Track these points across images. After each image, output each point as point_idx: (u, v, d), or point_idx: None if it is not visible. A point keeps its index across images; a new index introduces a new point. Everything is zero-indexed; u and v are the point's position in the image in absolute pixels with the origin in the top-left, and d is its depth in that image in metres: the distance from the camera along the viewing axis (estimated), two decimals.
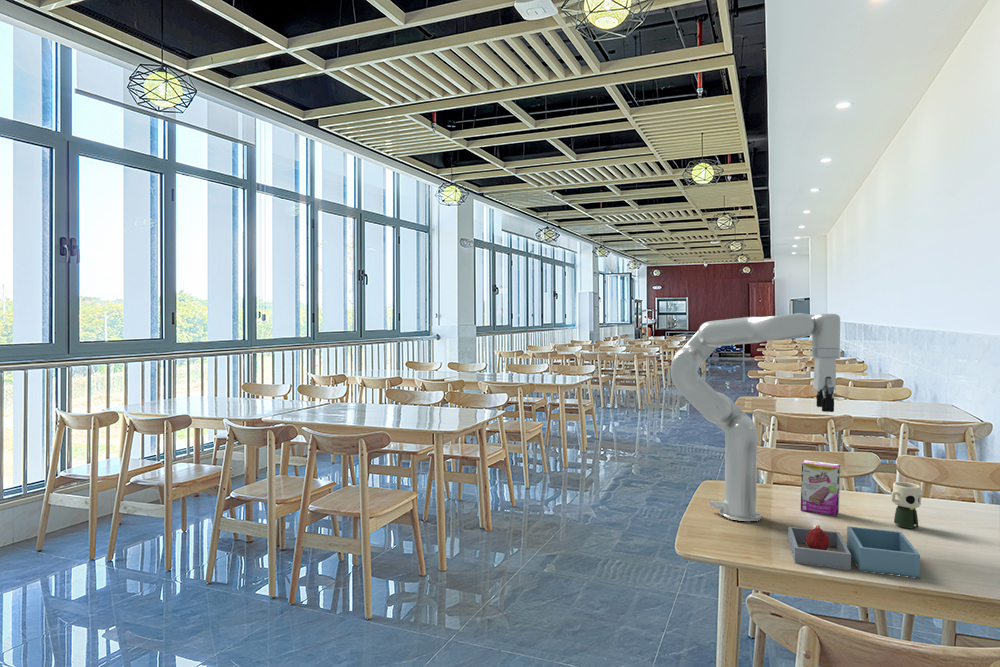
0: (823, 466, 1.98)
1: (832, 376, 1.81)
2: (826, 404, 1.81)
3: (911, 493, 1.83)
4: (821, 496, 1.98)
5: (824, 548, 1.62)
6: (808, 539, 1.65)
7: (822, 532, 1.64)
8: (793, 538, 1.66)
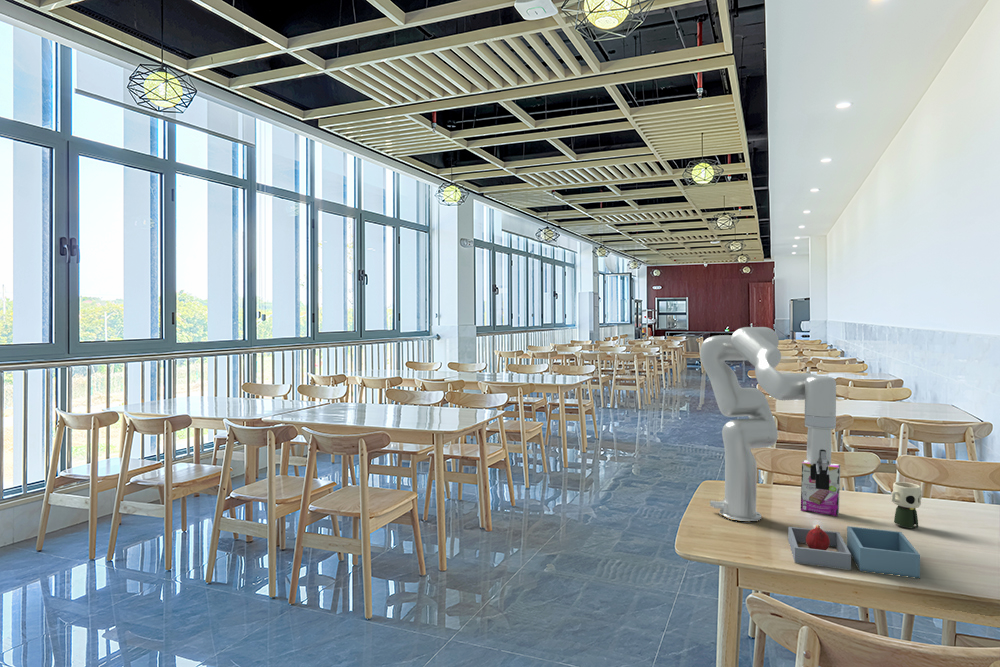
0: None
1: (827, 449, 1.59)
2: (820, 481, 1.59)
3: (911, 493, 1.83)
4: (821, 496, 1.98)
5: (824, 548, 1.62)
6: (808, 539, 1.65)
7: (822, 532, 1.64)
8: (793, 538, 1.66)
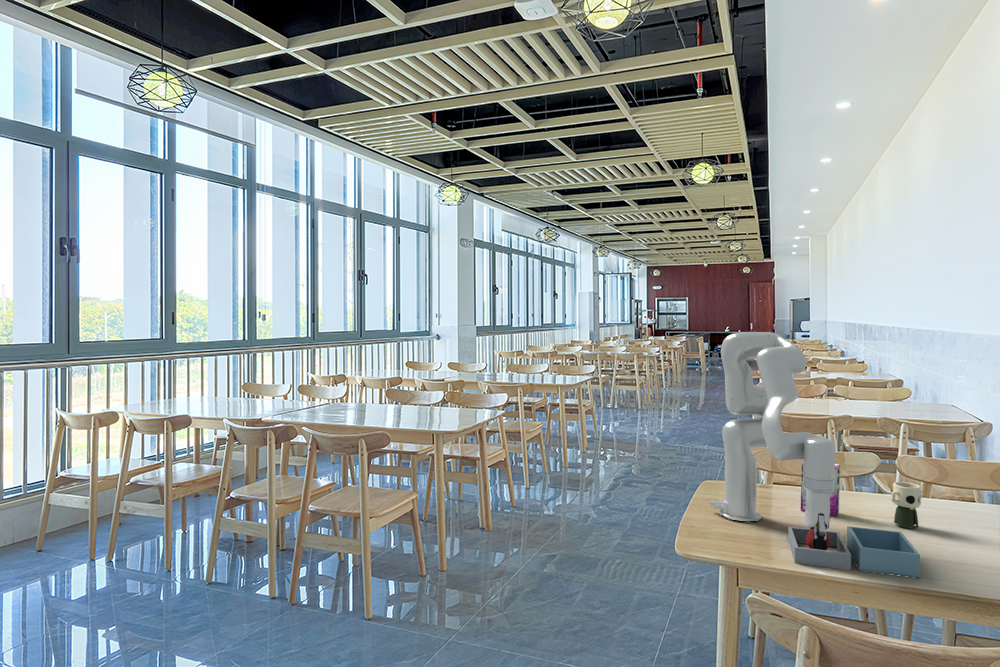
0: None
1: (826, 513, 1.60)
2: (817, 546, 1.61)
3: (911, 493, 1.83)
4: None
5: None
6: (808, 539, 1.65)
7: None
8: (793, 538, 1.66)
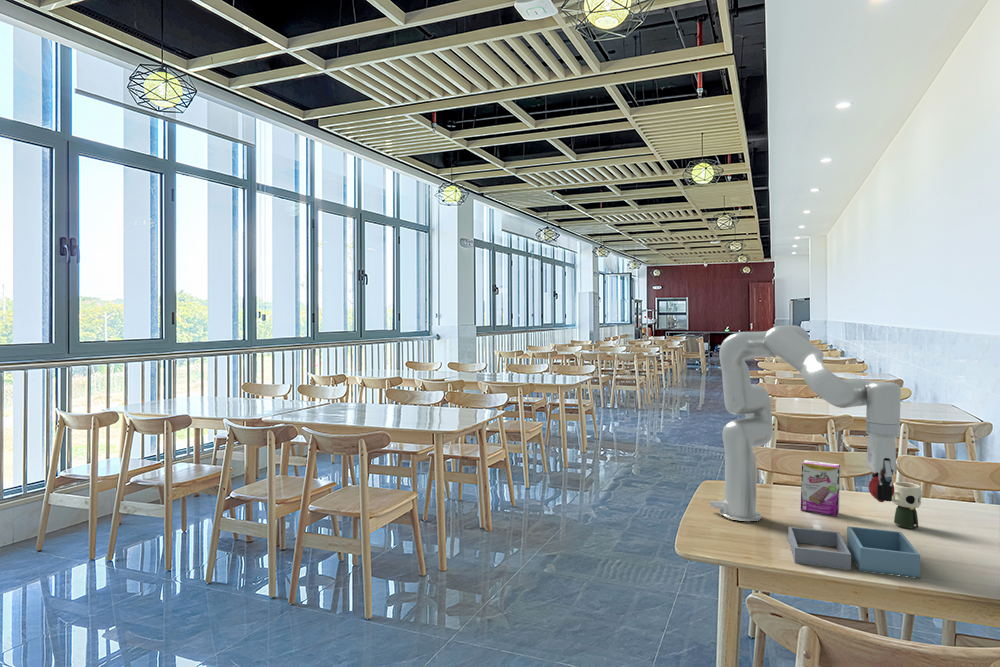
0: (823, 466, 1.98)
1: (892, 458, 1.54)
2: (883, 492, 1.56)
3: (911, 493, 1.83)
4: (821, 496, 1.98)
5: None
6: (872, 486, 1.59)
7: None
8: (793, 538, 1.66)
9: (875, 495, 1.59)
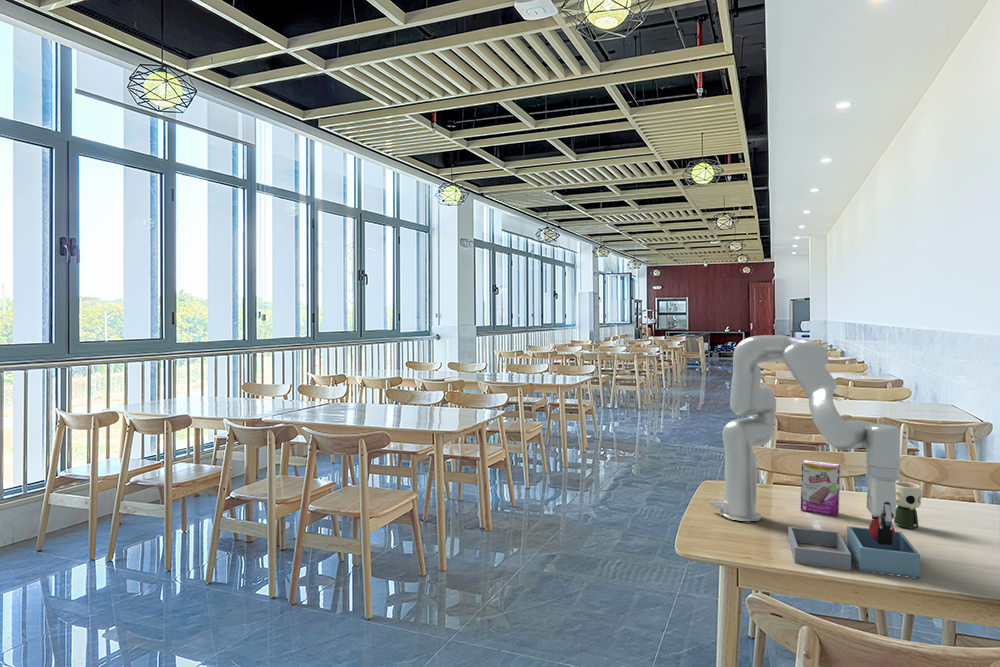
0: (823, 466, 1.98)
1: (892, 502, 1.54)
2: (883, 536, 1.56)
3: (911, 493, 1.83)
4: (821, 496, 1.98)
5: None
6: (872, 529, 1.59)
7: None
8: (793, 538, 1.66)
9: (875, 538, 1.59)
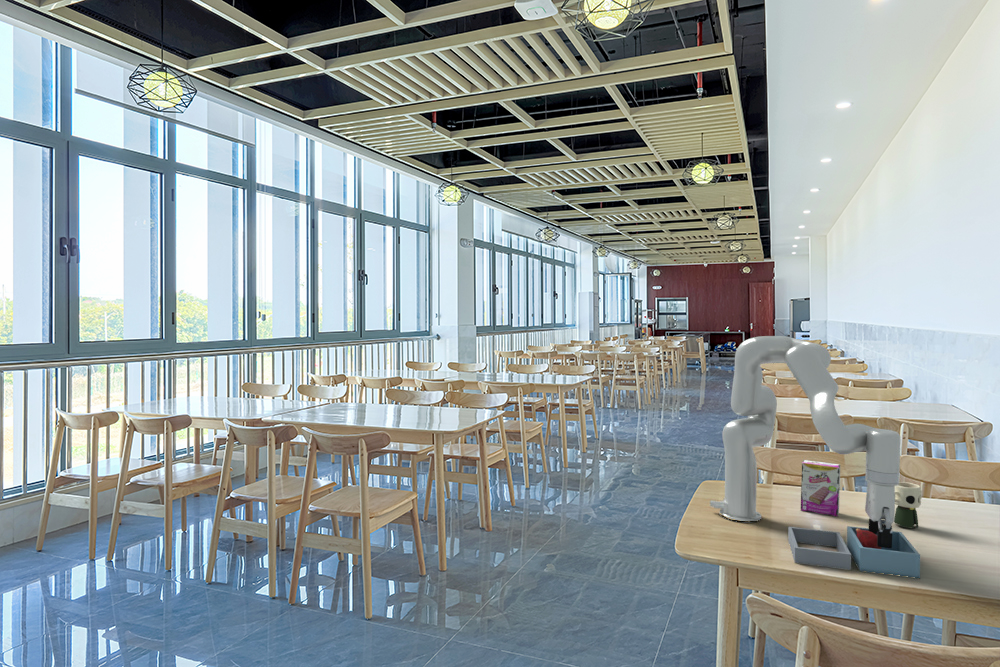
0: (823, 466, 1.98)
1: (891, 507, 1.55)
2: (883, 539, 1.55)
3: (911, 493, 1.83)
4: (821, 496, 1.98)
5: None
6: None
7: (864, 531, 1.63)
8: (793, 538, 1.66)
9: None
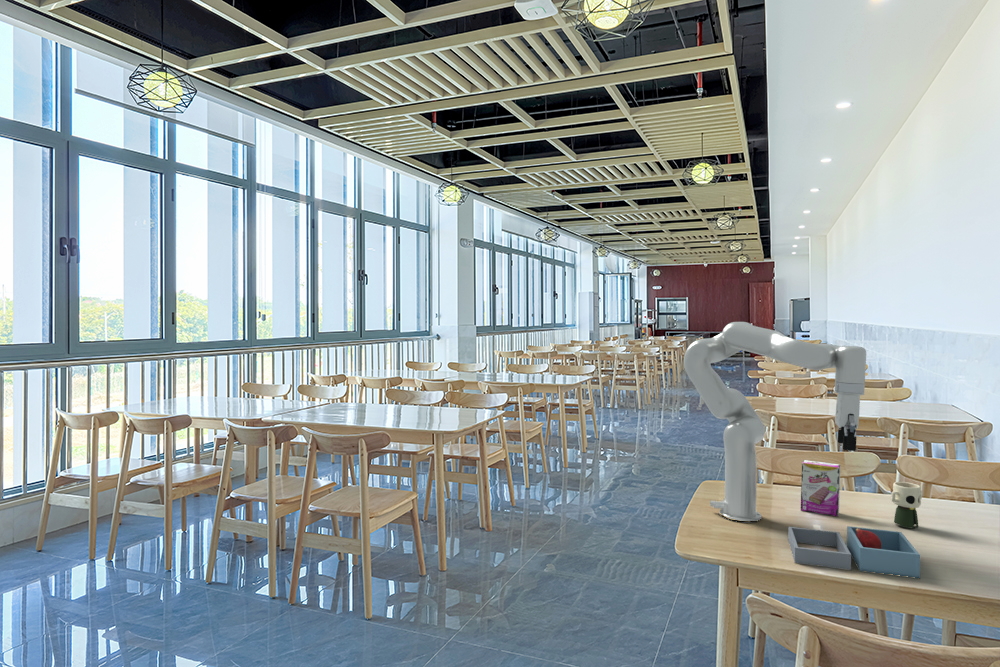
0: (823, 466, 1.98)
1: (856, 413, 1.71)
2: (848, 442, 1.71)
3: (911, 493, 1.83)
4: (821, 496, 1.98)
5: (877, 543, 1.59)
6: None
7: (864, 531, 1.63)
8: (793, 538, 1.66)
9: None
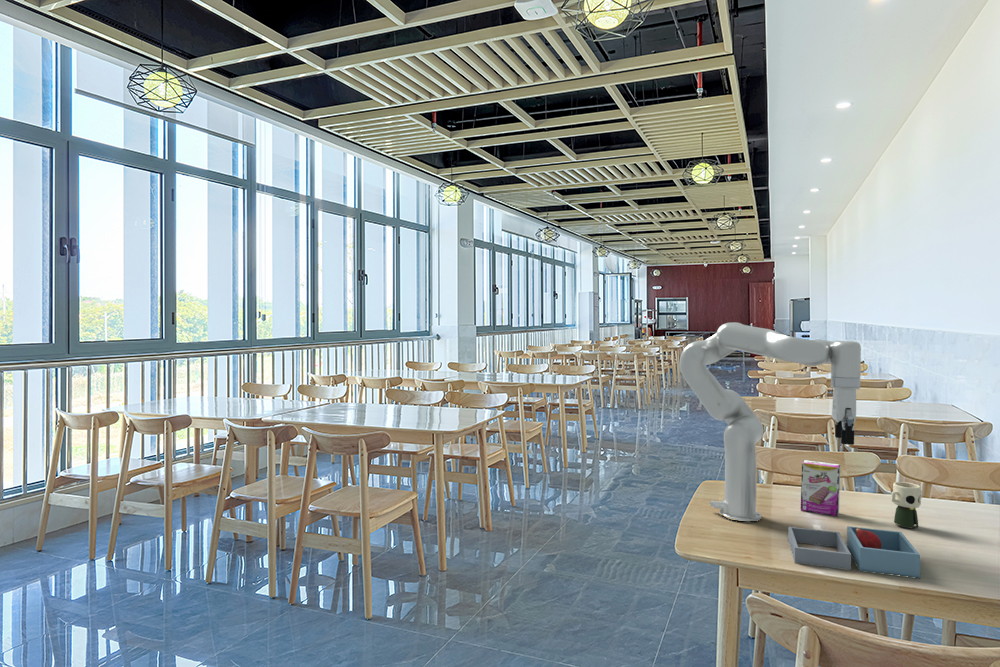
0: (823, 466, 1.98)
1: (853, 407, 1.73)
2: (846, 436, 1.73)
3: (911, 493, 1.83)
4: (821, 496, 1.98)
5: (877, 543, 1.59)
6: None
7: (864, 531, 1.63)
8: (793, 538, 1.66)
9: None
